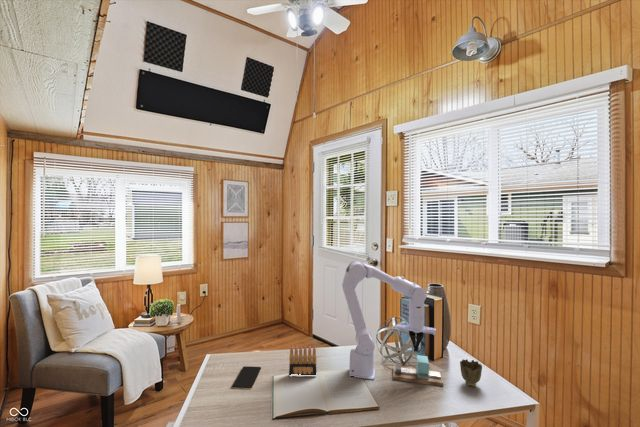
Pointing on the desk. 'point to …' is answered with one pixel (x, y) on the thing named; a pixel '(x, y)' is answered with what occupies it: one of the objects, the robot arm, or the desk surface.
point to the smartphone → (246, 378)
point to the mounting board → (415, 378)
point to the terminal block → (422, 367)
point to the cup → (471, 372)
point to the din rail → (414, 372)
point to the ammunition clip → (302, 361)
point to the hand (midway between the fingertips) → (415, 350)
